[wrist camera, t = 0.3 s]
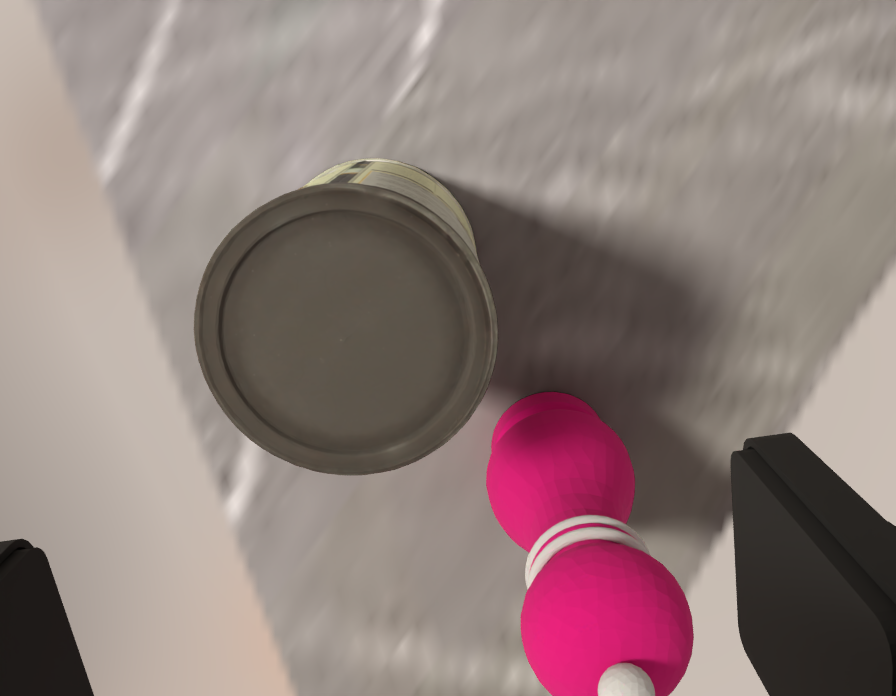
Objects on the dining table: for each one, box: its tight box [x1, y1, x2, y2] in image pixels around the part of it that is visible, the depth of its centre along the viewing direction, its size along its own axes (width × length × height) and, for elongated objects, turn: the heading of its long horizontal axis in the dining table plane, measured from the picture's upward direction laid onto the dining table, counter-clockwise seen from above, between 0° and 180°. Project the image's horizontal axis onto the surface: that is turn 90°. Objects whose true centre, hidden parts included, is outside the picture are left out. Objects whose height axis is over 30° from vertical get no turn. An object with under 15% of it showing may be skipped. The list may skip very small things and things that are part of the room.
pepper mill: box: [486, 392, 694, 696], centre depth 34 cm, size 7×7×20 cm
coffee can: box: [194, 158, 498, 475], centre depth 33 cm, size 10×10×14 cm
